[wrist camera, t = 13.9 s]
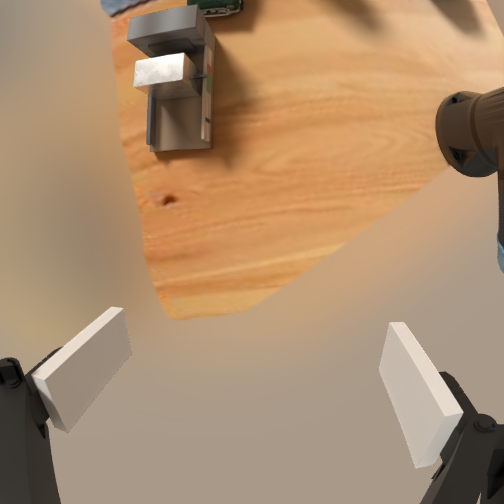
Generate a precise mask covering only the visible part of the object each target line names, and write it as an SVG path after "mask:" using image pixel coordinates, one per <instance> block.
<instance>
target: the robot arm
mask: <svg viewBox="0 0 504 504" xmlns="http://www.w3.org/2000/svg"><path fill="white" fill-rule="evenodd" d="M436 135H437V139H438V143H439V146H440V148H441V151H442V153H443V154H444V156H445V158H446V159H447V161H448V162H449V163H450V164H451V166H452V167H453V168H454V169H456V170H457V171H458V172H460V173H462V174H463V175H466V176H469V177H486V176H489V175H491V174H493V173H495V172H496V171H498V192H499V231H498V233H497V242H498V263H499V266H500V268H501V270H502V272H503V273H504V87H502V88H499V89H496V90H493V91H491V92H488V93H485V94H480V93H475V92H469V91H462V92H457V93H455V94H452V95H450V96H448V97H447V98H446V99H444V100H443V102H442V103H441V105H440V106H439V109H438V111H437V115H436ZM131 354H132V351H131V347H130V341H129V336H128V331H127V325H126V319H125V313H124V309H123V308H117V307H111V308H109V309H108V310H107V311H106V312H105V313H103V314H102V315H101V316H100V317H98V318H97V319H96V320H95V321H94V322H92V323H91V324H90V325H89V326H88V327H86V328H85V329H84V330H83V331H81V332H80V333H79V334H78V335H77V336H75V337H74V338H73V339H72V340H71V341H69V342H68V343H67V344H66V345H65V346H62V347H60V348H58V349H56V350H54V351H53V352H51V353H50V354H49V355H48V356H47V358H44V359H43V360H42V362H40V363H38V364H37V365H36V366H35V367H34V368H33V369H32V370H30V371H29V372H28V373H27V374H26V375H25V376H24V373H23V371H22V368H21V366H20V363H19V361H18V360H17V359H15V358H4V359H1V360H0V504H61V502H60V497H59V493H58V489H57V484H56V478H55V473H54V467H53V462H52V455H51V447H50V439H49V431H48V426H47V424H46V421H47V419H48V418H49V417H50V419H51V421H52V423H53V425H54V427H56V428H58V429H60V430H62V431H65V432H67V433H69V431H70V430H71V429H72V427H73V426H74V425H75V423H76V422H77V421H78V420H79V418H80V417H81V416H82V415H83V413H84V412H85V411H86V410H87V408H88V407H89V406H90V405H91V403H92V402H93V401H94V400H95V398H96V397H97V396H98V395H99V393H100V392H101V391H102V390H103V388H104V387H105V386H106V385H107V384H108V382H109V381H110V380H111V379H112V377H113V376H114V375H115V374H116V372H117V371H118V370H119V368H121V366H122V365H123V364H124V363H125V361H126V360H127V359H128V358H129V356H130V355H131ZM379 372H380V374H381V377H382V379H383V382H384V384H385V387H386V389H387V391H388V394H389V397H390V399H391V402H392V404H393V407H394V409H395V412H396V415H397V417H398V420H399V423H400V425H401V428H402V431H403V433H404V436H405V439H406V442H407V445H408V447H409V451H410V453H411V456H412V459H413V462H414V465H415V468H421V467H425V466H429V465H433V464H434V463H435V461H436V460H437V458H438V456H439V455H440V456H441V459H442V461H443V463H442V464H441V466H440V467H439V469H438V470H437V471H436V473H435V474H434V476H433V477H432V479H433V481H432V483H431V485H430V487H429V488H428V490H427V492H426V494H425V496H424V497H423V499H422V501H421V503H420V504H476V503H477V501H478V498H479V495H480V492H481V498H480V504H504V424H502V425H500V424H497V423H496V421H495V420H494V419H493V418H492V417H491V416H488V415H486V414H478V413H477V411H476V409H475V408H474V406H473V405H472V403H471V402H470V400H469V399H468V397H467V396H466V394H465V393H464V391H463V390H462V388H461V387H459V384H458V382H457V381H456V380H455V378H454V377H453V376H451V375H450V374H448V373H447V372H437V370H436V368H435V366H434V365H433V364H432V362H431V361H430V359H429V358H428V356H427V355H426V353H425V352H424V351H423V349H422V347H421V346H420V344H419V343H418V342H417V340H416V339H415V337H414V336H413V335H412V333H411V332H410V330H409V329H408V327H407V326H406V325H405V323H404V322H390V323H389V327H388V332H387V337H386V341H385V345H384V350H383V354H382V358H381V362H380V366H379Z"/></svg>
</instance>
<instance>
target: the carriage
mask: <svg viewBox="0 0 504 504" xmlns="http://www.w3.org/2000/svg"><path fill="white" fill-rule="evenodd" d="M202 78H207V74H202V73H201V71H200V70H199V69H198V68H197V67H196V66H195V65H194V63H193V62H192V61H191V60H190V59H189V58H188V57H187V56H186V55H185V53H180V54H173V55H167V56H161V57H155V58H150V59H145V60H140V61H136V65H135V76H134V88H136V89H138V90H140V91H142V92H144V93H146V94H148V95H150V96H151V97H153V98H155V99H157V100H159V101H160V100H168V99H176V98H186V97H196V96H201V84H202Z"/></svg>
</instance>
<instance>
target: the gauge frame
mask: <svg viewBox="0 0 504 504" xmlns="http://www.w3.org/2000/svg"><path fill="white" fill-rule="evenodd" d="M215 39H216V36H215V35H214V33H213V31H212V29H211V27H210V26H209V24H208V22H207V20H206V19H205V17H204V15H203V13H202V12H201V10H200V8H199V6H198V5H190V6H184V7H178V8H173V9H167V10H163V11H158V12H153V13H149V14H145V15H141V16H137V17H133V18H130V24H129V30H128V36H127V41H129V42H130V43H131V44H133V45H134V46H135V47H137V48H138V49H139V50H141V51H142V52H143V53H145V54H146V55H147V56H149V57H150V58H155V57H161V56H167V55H173V54H180V53H185V55H186V56H187V57H188V58H189V59H190V60H191V61H192V62H193V63H194V65H195V66H196V67H197V68H198V69H199V70H200V71H201V73H202V74H207V78H202V84H201V96H196V97H186V98H176V99H168V100H160V101H159V100H157V99H155V98H153V97H151V96H150V95H148V109H147V139H146V144H148V145H150V152H161V151H175V150H192V149H212V134H213V89H214V61H215Z"/></svg>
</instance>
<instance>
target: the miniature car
mask: <svg viewBox="0 0 504 504" xmlns="http://www.w3.org/2000/svg"><path fill="white" fill-rule="evenodd" d="M190 5H198V6H199V8H200V10H201V12H202V13H203V15H204V17H215V16H223V15H229V14H232V13H236V12H239V10H243V0H187V6H190ZM230 12H231V13H230ZM215 13H226V14H217V15H205V14H215Z"/></svg>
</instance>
